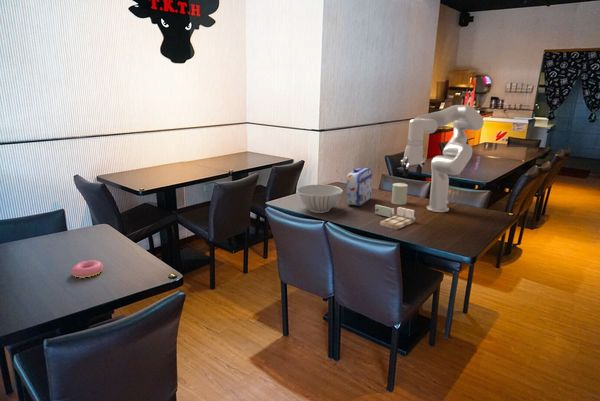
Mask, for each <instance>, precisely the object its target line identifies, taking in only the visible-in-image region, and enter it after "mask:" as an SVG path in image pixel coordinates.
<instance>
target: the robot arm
mask: <svg viewBox="0 0 600 401" xmlns="http://www.w3.org/2000/svg"><path fill="white" fill-rule="evenodd" d="M484 121H485V120H484V118H483V116H482V115H481V114H480V113H479V111H477V109H476V108H474V107H473V106H472V105H469V104H468V105H467V104H466V105H465V104H454V105H451V106H449V107H446V108H444V109H442V110H440V111H434V112H428V113H425V114H421V115H418V116H416V117H414V118H413V119H412V118H411V119H410V120H409V124H408V134H407V145H406V147H405V150H404V154H403V158H402V159H400V164H401V167H402V169H403V170H402V176H403V177H409V167H410V166H416V170H415V175H419V176H422V169H423V167H424V165H425V163H426V160H427V159H426V158H425V157H424V149H423V148H424V146H423V143H424V134H433V133H435V132H436V131H437V130H438V127H445V126H447V125H449V124H450V125H451V123H452V126H453V127H452V128H453V131H452V132H453V133H452V136H451V138H450V139H449V141H448V142H447V143H446V144H445V146H444V147H443V149H442V155H436V156H433V158H432V159H431V161H430V162H431V163H430V167H431V184H430V194H429V205H427V206H426V210H427V211H430V212H433V213H446V212H449V211H450V208H449V207H448V204H449V200H448V195H449V194H448V193H449V185H450V184H449V182H450V178H449V175H451V176H457V175H460V174H461V173H462V171H463V170H464V169H465V167H466V166H467V164H468V163H469V161H470V159H471V158H472V155H473V147H472V145H471V144H469V143H467V141H468V136H467V134H466V131H480V130H481V129H482V128H483V126H484ZM465 130H466V131H465Z"/></svg>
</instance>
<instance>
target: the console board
mask: <svg viewBox="0 0 600 401" xmlns="http://www.w3.org/2000/svg"><path fill="white" fill-rule="evenodd" d="M415 222H416V217H414V218H412V219H411V218H407V217H405V216H399V215H397V214H396V215H395V214H394V216H393V217H387V218H385V219H383V220H381V221H380V222H379V225H380V226H381V227H386V228H388V229H392V230H393V229H394V230H396V231H397V230H399V229H401V228H403V227H406V226H408V225H410V224H413V223H415Z"/></svg>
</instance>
